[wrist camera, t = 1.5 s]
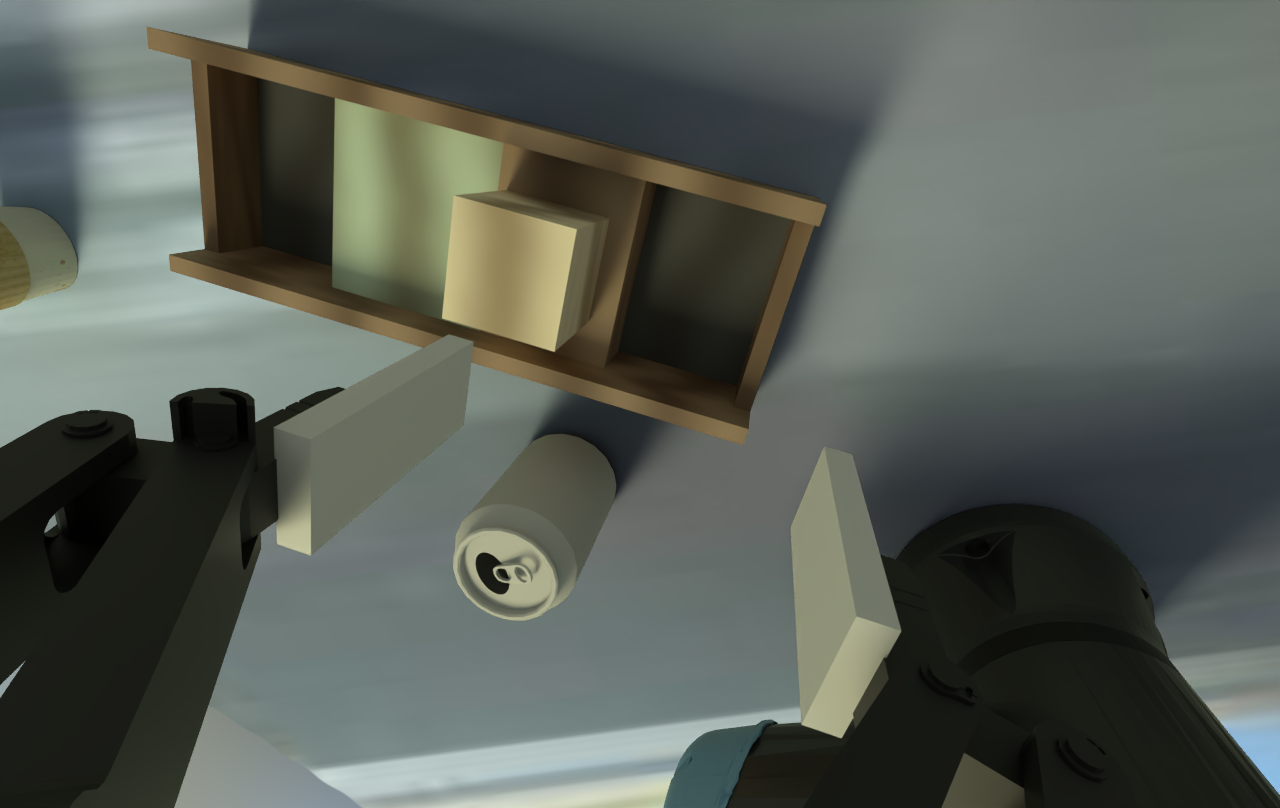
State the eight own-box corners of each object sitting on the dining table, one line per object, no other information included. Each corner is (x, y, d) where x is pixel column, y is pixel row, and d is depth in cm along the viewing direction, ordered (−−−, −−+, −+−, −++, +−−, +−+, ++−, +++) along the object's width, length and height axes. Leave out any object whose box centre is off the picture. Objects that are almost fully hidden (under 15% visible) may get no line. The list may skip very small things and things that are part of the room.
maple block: (609, 218, 32) (576, 229, 27) (588, 322, 35) (554, 351, 29) (506, 189, 33) (453, 195, 27) (492, 294, 35) (442, 318, 30)
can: (506, 440, 44) (418, 532, 33) (599, 418, 41) (538, 509, 30) (542, 525, 46) (471, 639, 35) (632, 509, 44) (586, 625, 33)
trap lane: (816, 197, 33) (826, 205, 27) (747, 402, 39) (743, 444, 33) (246, 48, 37) (146, 26, 31) (254, 255, 42) (170, 270, 36)
